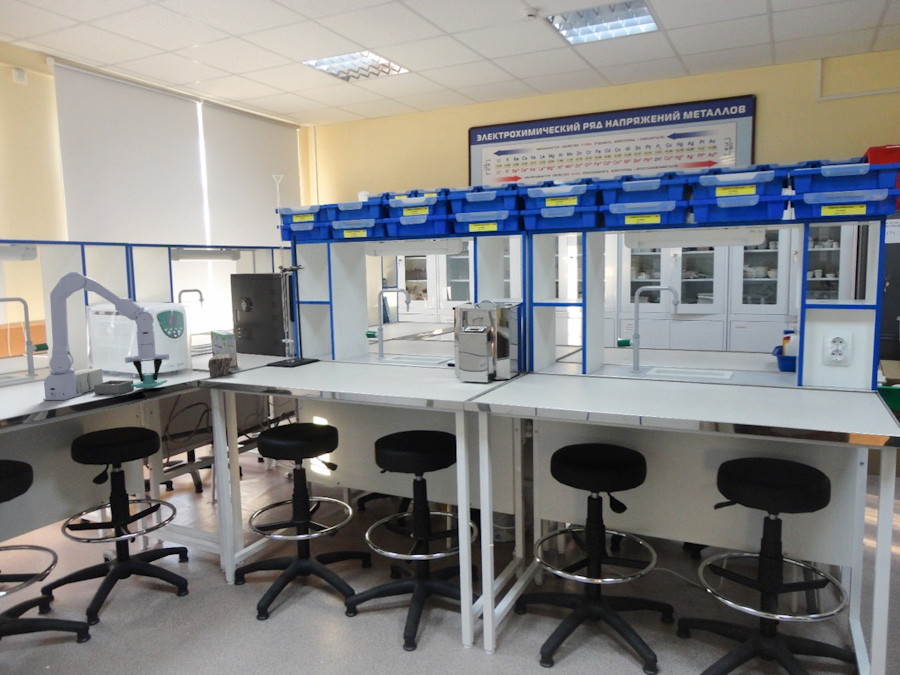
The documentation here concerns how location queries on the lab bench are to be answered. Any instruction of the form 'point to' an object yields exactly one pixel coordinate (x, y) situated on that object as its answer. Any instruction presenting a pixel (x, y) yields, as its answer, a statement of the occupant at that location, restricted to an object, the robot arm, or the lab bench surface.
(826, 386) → the lab bench surface
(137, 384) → the lid
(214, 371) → the stone block
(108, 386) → the box
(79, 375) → the supplement box
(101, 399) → the lab bench surface
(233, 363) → the snack box
